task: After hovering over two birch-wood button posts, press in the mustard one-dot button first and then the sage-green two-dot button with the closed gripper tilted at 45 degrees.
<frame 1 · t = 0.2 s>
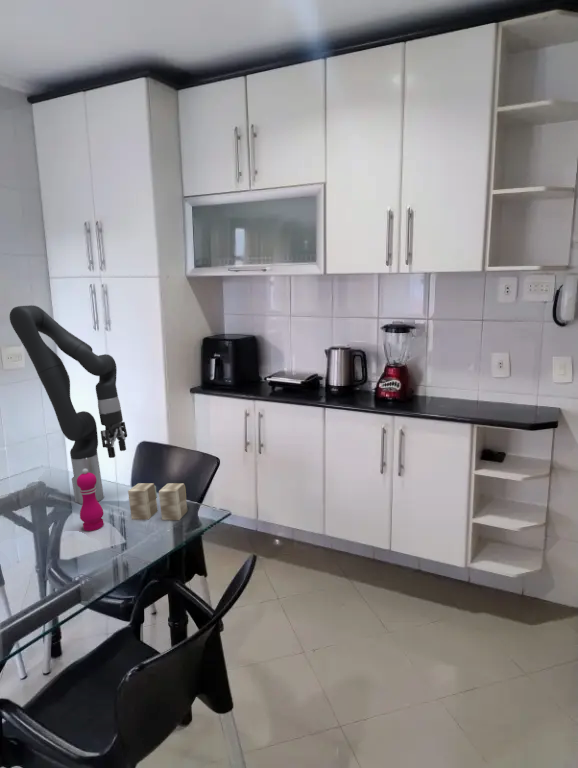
hand: (117, 453, 191), 18 cm above the table, tool pointing down, fingers open, 8 cm apart
post right: (174, 516, 176), on the table
button right: (179, 494, 180), point 6 cm above the table, slide at 0.0 cm
post left: (144, 515, 178), on the table
pepper mill: (93, 527, 172), on the table
button left: (149, 494, 183), point 6 cm above the table, slide at 0.0 cm
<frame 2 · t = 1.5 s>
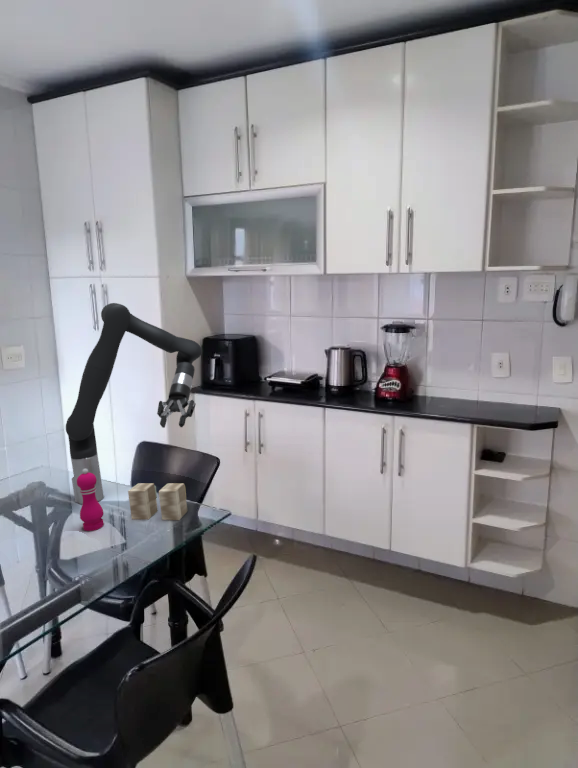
hand: (171, 426, 189), 26 cm above the table, tool tilted 45°, fingers open, 6 cm apart
nothing on the table moved.
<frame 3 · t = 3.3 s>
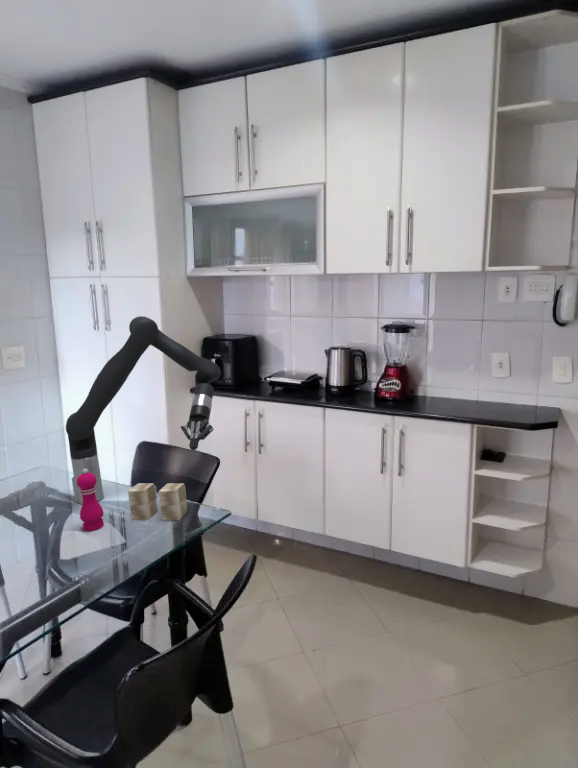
hand: (192, 449, 193), 17 cm above the table, tool tilted 45°, fingers closed
nothing on the table moved.
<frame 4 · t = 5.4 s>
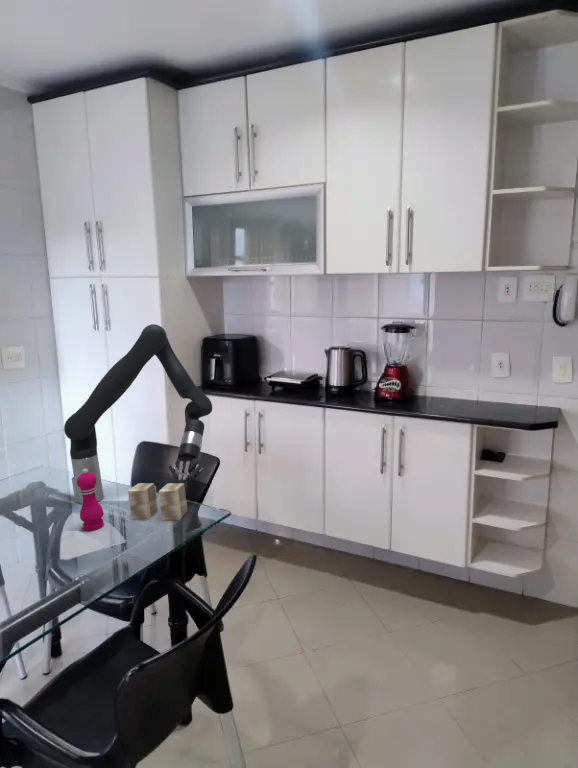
hand: (180, 491, 182), 6 cm above the table, tool tilted 45°, fingers closed
button right: (177, 495, 179), point 6 cm above the table, slide at 1.1 cm, touching gripper
everything else where it was.
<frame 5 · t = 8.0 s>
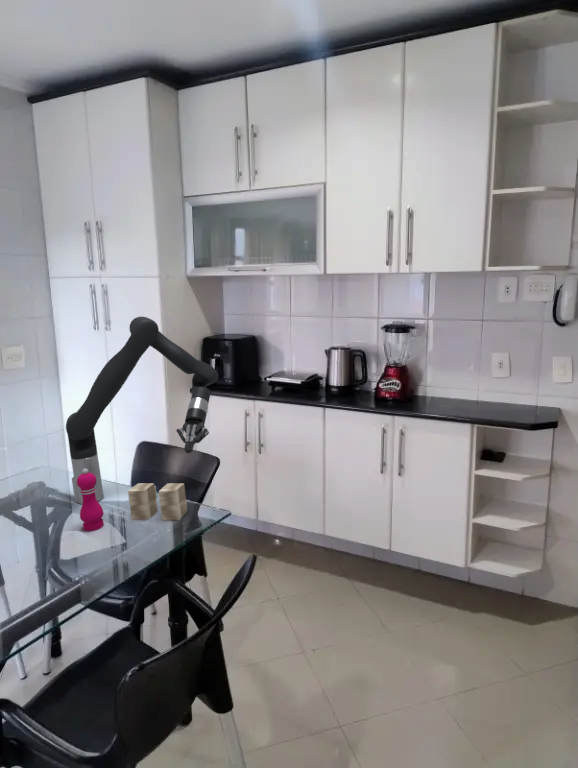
hand: (187, 452, 193), 16 cm above the table, tool tilted 45°, fingers closed
button right: (175, 497, 177), point 6 cm above the table, slide at 3.0 cm
everything else where it was.
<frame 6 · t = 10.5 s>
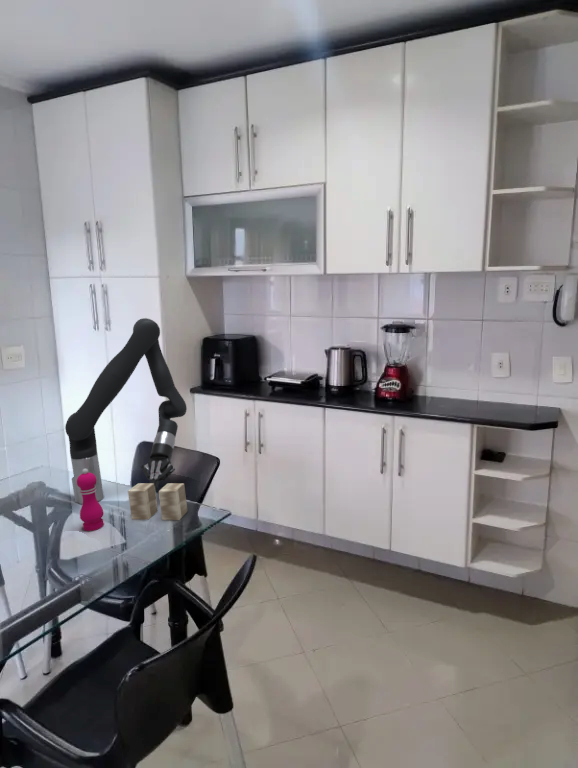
hand: (152, 490, 184), 6 cm above the table, tool tilted 45°, fingers closed
button left: (149, 494, 182), point 6 cm above the table, slide at 0.6 cm, touching gripper
everything else where it was.
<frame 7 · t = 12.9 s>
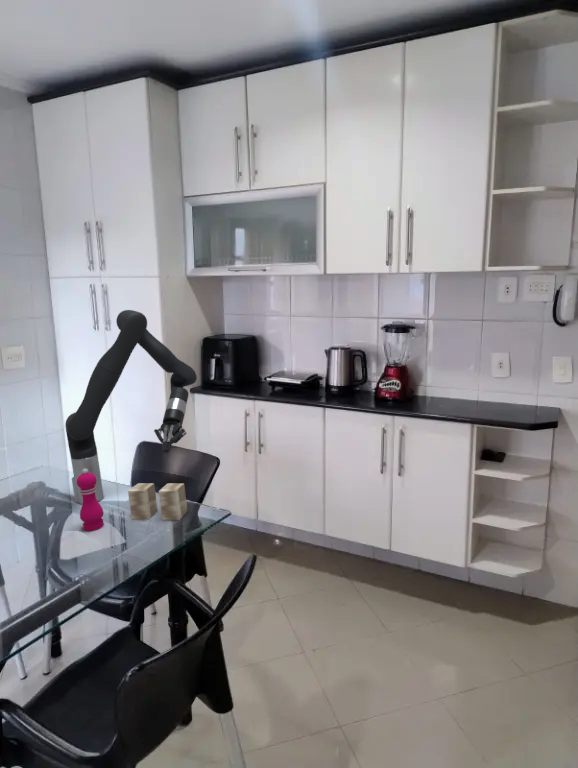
hand: (165, 452, 195), 16 cm above the table, tool tilted 45°, fingers closed
button left: (145, 497, 180), point 6 cm above the table, slide at 3.0 cm
everything else where it was.
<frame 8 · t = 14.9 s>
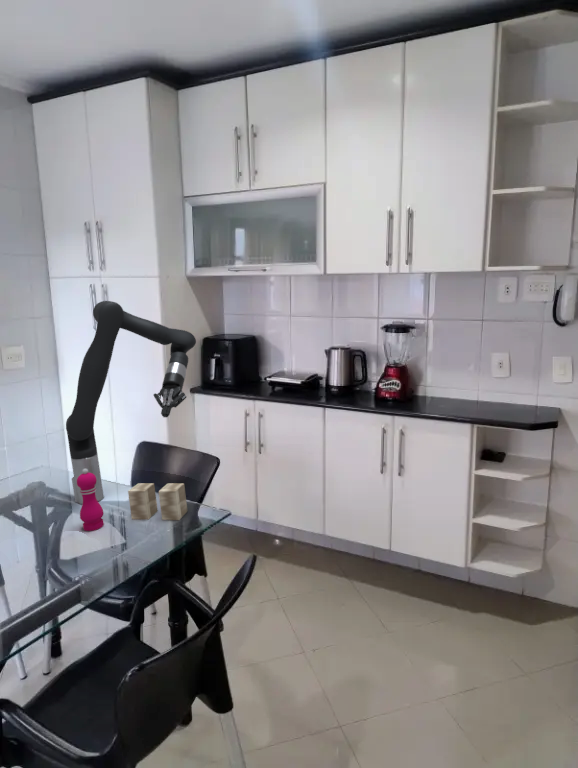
hand: (164, 416, 191), 30 cm above the table, tool tilted 45°, fingers closed
nothing on the table moved.
at the end: button right slide at 3.0 cm; button left slide at 3.0 cm; pepper mill moved 0.2 cm from its start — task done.
